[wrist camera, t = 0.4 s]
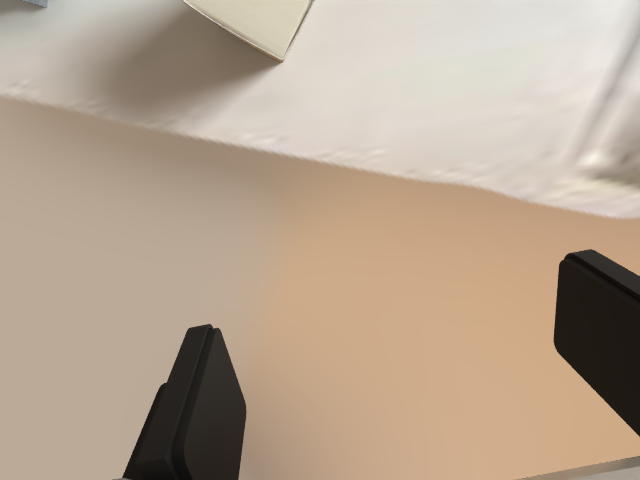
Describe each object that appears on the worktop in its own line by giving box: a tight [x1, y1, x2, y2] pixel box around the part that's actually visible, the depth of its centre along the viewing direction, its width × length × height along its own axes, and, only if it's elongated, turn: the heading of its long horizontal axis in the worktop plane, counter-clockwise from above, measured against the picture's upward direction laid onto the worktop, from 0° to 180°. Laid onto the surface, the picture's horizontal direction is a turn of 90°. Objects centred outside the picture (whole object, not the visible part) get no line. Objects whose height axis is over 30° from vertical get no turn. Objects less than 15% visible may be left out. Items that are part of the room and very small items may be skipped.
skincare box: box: [183, 0, 315, 63], centre depth 26 cm, size 6×4×12 cm
